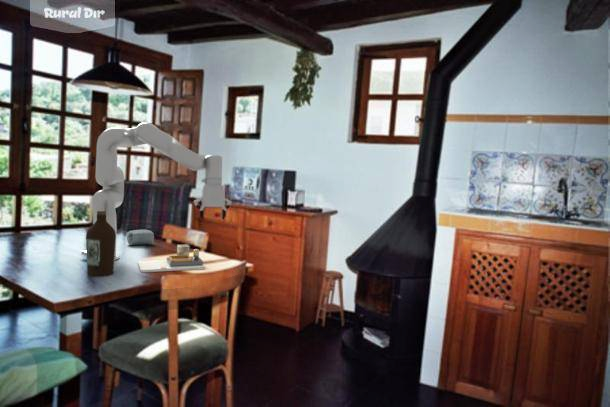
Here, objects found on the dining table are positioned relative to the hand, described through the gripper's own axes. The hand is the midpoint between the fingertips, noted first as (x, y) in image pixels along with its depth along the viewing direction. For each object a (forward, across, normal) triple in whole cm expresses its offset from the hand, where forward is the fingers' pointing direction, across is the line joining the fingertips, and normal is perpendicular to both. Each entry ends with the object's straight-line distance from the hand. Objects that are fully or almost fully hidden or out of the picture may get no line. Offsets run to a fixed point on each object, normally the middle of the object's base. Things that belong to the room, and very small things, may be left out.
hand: (212, 219), depth 195 cm
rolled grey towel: (+20, -31, +45) cm, 58 cm away
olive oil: (+20, -46, -13) cm, 52 cm away
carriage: (+19, -13, -4) cm, 23 cm away
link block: (+20, -12, +11) cm, 26 cm away
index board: (+20, -19, -4) cm, 28 cm away
